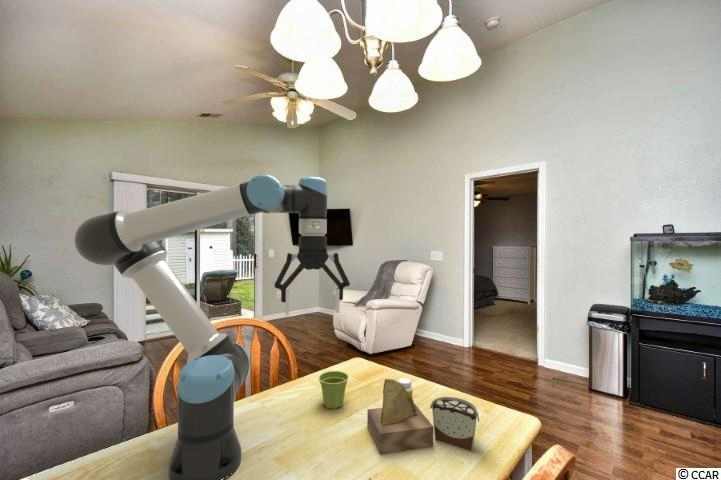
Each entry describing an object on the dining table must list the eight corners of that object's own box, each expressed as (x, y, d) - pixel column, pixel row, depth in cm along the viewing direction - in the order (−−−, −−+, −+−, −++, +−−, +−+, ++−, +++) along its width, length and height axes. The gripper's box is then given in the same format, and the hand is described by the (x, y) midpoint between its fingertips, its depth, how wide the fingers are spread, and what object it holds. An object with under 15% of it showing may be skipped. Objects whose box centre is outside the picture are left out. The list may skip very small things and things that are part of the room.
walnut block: (380, 454, 84) (380, 433, 84) (367, 427, 95) (367, 409, 95) (433, 446, 87) (433, 426, 87) (414, 421, 99) (414, 403, 99)
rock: (416, 397, 97) (381, 391, 98) (422, 381, 92) (385, 375, 93) (416, 438, 89) (377, 431, 90) (422, 423, 84) (381, 416, 84)
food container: (483, 441, 89) (483, 403, 89) (478, 454, 84) (478, 413, 84) (437, 427, 95) (437, 391, 95) (429, 439, 90) (429, 401, 90)
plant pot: (345, 413, 103) (345, 384, 103) (314, 410, 104) (314, 381, 104) (351, 398, 112) (351, 371, 112) (322, 396, 114) (323, 369, 114)
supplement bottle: (412, 404, 109) (412, 377, 108) (412, 412, 104) (413, 384, 104) (396, 403, 109) (396, 377, 109) (396, 411, 104) (397, 383, 104)
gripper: (264, 234, 87) (264, 318, 88) (360, 235, 93) (360, 313, 94) (265, 234, 95) (265, 312, 95) (354, 235, 101) (354, 308, 101)
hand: (312, 313), depth 94 cm, fingers open, 13 cm apart
